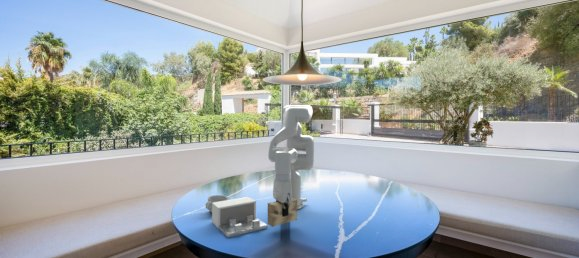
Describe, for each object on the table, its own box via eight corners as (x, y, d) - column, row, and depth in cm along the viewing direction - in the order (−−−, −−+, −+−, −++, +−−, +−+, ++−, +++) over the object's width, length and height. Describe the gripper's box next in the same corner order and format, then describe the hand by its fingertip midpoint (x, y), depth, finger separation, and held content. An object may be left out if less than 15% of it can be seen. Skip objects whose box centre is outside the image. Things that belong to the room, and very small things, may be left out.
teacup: (219, 207, 166) (219, 193, 165) (231, 211, 159) (231, 197, 158) (198, 213, 155) (198, 199, 154) (210, 218, 148) (210, 203, 148)
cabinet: (248, 214, 154) (248, 196, 154) (255, 220, 147) (256, 201, 146) (212, 222, 143) (212, 202, 142) (218, 228, 136) (218, 207, 135)
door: (292, 217, 141) (292, 197, 140) (298, 220, 137) (298, 200, 136) (267, 223, 134) (267, 203, 133) (273, 227, 129) (273, 206, 128)
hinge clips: (255, 220, 147) (255, 211, 146) (267, 228, 137) (267, 218, 136) (218, 228, 136) (218, 219, 135) (227, 237, 126) (227, 227, 125)
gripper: (267, 173, 138) (267, 210, 140) (285, 182, 125) (285, 222, 126) (280, 171, 143) (280, 207, 144) (299, 179, 129) (299, 218, 131)
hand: (282, 213), depth 135 cm, fingers closed on door, 4 cm apart
